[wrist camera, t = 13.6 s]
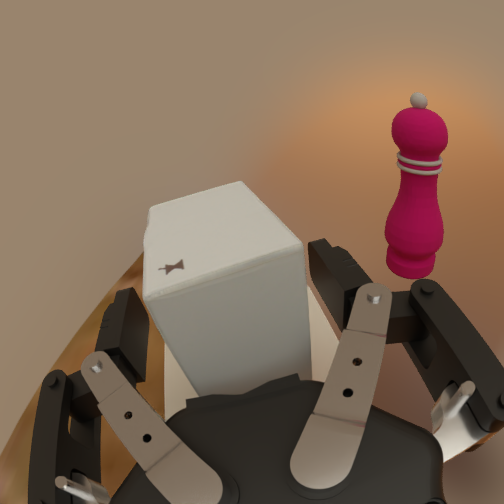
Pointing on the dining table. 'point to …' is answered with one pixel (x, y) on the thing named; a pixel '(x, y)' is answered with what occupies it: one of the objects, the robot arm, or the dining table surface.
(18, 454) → the dining table surface
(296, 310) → the skincare box
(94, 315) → the dining table surface
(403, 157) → the pepper mill
